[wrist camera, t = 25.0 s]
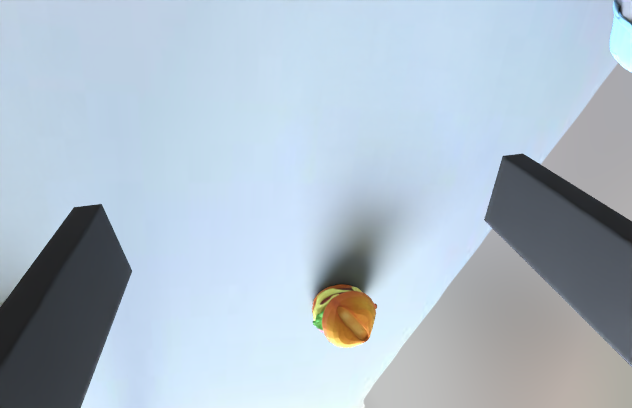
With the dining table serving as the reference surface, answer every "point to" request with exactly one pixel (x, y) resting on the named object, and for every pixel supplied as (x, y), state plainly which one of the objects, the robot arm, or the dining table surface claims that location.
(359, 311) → the cheeseburger
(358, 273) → the dining table surface
